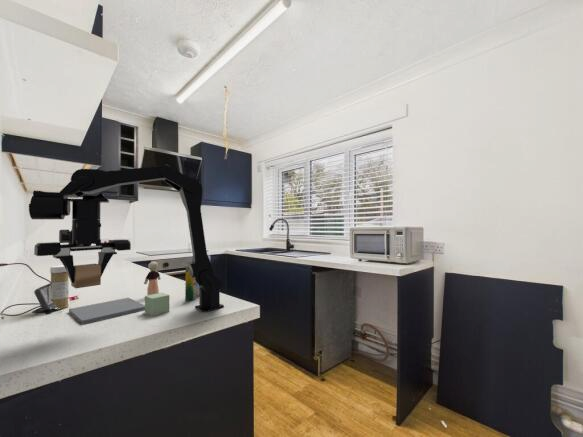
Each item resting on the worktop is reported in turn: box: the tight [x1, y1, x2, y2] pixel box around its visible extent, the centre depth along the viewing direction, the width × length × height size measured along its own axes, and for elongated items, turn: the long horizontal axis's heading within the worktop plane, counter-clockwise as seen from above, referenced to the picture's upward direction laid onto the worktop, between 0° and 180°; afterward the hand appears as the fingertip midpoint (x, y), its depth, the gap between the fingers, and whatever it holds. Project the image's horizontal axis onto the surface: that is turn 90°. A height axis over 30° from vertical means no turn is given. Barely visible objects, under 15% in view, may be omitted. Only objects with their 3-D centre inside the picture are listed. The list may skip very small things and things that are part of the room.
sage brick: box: [144, 292, 170, 317], centre depth 79 cm, size 5×5×5 cm
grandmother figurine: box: [143, 261, 161, 296], centre depth 98 cm, size 8×4×13 cm, turn 179°
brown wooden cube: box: [70, 263, 102, 289], centre depth 67 cm, size 5×5×5 cm
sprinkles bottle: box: [49, 264, 70, 310], centre depth 85 cm, size 5×5×13 cm
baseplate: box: [68, 297, 145, 325], centre depth 81 cm, size 16×16×1 cm
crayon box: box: [184, 265, 200, 302], centre depth 95 cm, size 7×3×12 cm, turn 179°
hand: (86, 281), depth 67 cm, fingers closed on brown wooden cube, 5 cm apart
